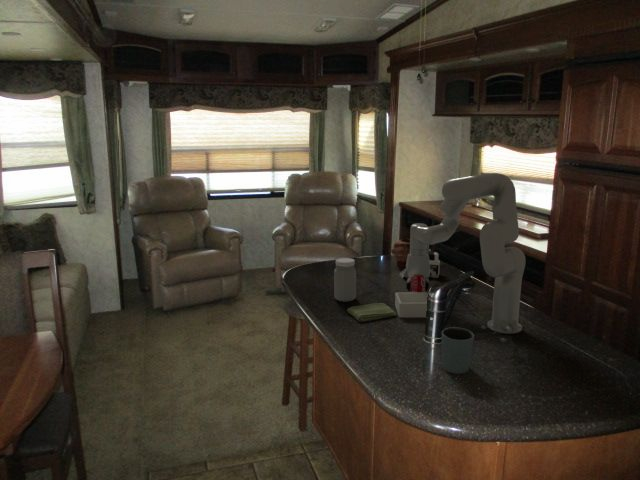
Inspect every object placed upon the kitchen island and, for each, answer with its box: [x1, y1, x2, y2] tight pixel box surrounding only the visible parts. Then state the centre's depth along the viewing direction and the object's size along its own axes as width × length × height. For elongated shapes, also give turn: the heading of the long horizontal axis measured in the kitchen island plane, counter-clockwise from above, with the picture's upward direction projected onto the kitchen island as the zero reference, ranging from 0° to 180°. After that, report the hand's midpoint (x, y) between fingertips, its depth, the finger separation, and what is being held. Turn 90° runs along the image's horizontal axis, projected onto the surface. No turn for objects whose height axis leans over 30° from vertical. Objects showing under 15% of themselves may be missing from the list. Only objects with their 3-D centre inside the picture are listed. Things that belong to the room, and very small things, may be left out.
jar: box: [333, 257, 357, 303], centre depth 236 cm, size 10×10×18 cm
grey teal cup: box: [441, 326, 475, 375], centre depth 171 cm, size 10×10×12 cm
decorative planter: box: [390, 238, 410, 269], centre depth 289 cm, size 20×12×14 cm, turn 105°
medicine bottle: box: [428, 251, 441, 279], centre depth 270 cm, size 7×7×12 cm
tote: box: [394, 291, 429, 318], centre depth 221 cm, size 14×14×6 cm
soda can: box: [410, 274, 426, 292], centre depth 236 cm, size 7×7×12 cm
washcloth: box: [346, 302, 398, 323], centre depth 219 cm, size 13×18×3 cm
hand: (417, 290), depth 237 cm, fingers closed on soda can, 6 cm apart
